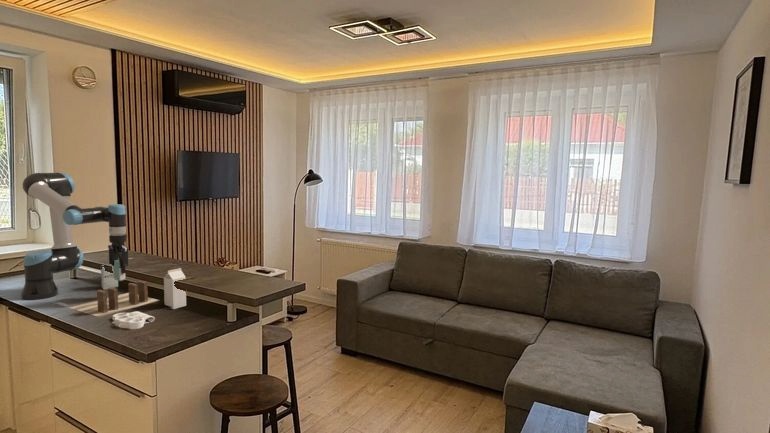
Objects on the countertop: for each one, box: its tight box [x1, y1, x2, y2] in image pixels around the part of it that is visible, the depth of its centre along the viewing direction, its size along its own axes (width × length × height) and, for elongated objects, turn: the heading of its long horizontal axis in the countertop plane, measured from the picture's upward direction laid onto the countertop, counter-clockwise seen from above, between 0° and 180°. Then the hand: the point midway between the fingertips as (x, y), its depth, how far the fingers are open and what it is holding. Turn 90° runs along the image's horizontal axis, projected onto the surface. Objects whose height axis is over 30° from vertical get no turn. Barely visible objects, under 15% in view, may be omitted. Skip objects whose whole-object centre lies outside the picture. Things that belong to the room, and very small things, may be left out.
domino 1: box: [96, 289, 108, 313], centre depth 206 cm, size 2×5×10 cm, turn 62°
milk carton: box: [163, 267, 187, 310], centre depth 219 cm, size 7×7×19 cm
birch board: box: [67, 292, 160, 318], centre depth 218 cm, size 26×30×1 cm
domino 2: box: [107, 287, 119, 310], centre depth 210 cm, size 2×5×10 cm, turn 62°
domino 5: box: [137, 280, 149, 302], centre depth 223 cm, size 2×5×10 cm, turn 62°
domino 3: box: [114, 259, 125, 282], centre depth 228 cm, size 2×5×10 cm, turn 62°
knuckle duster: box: [110, 310, 156, 330], centre depth 196 cm, size 3×18×15 cm
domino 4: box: [127, 282, 139, 305], centre depth 219 cm, size 2×5×10 cm, turn 62°
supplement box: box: [100, 267, 119, 291], centre depth 250 cm, size 7×7×13 cm
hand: (119, 278), depth 228 cm, fingers closed on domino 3, 5 cm apart
